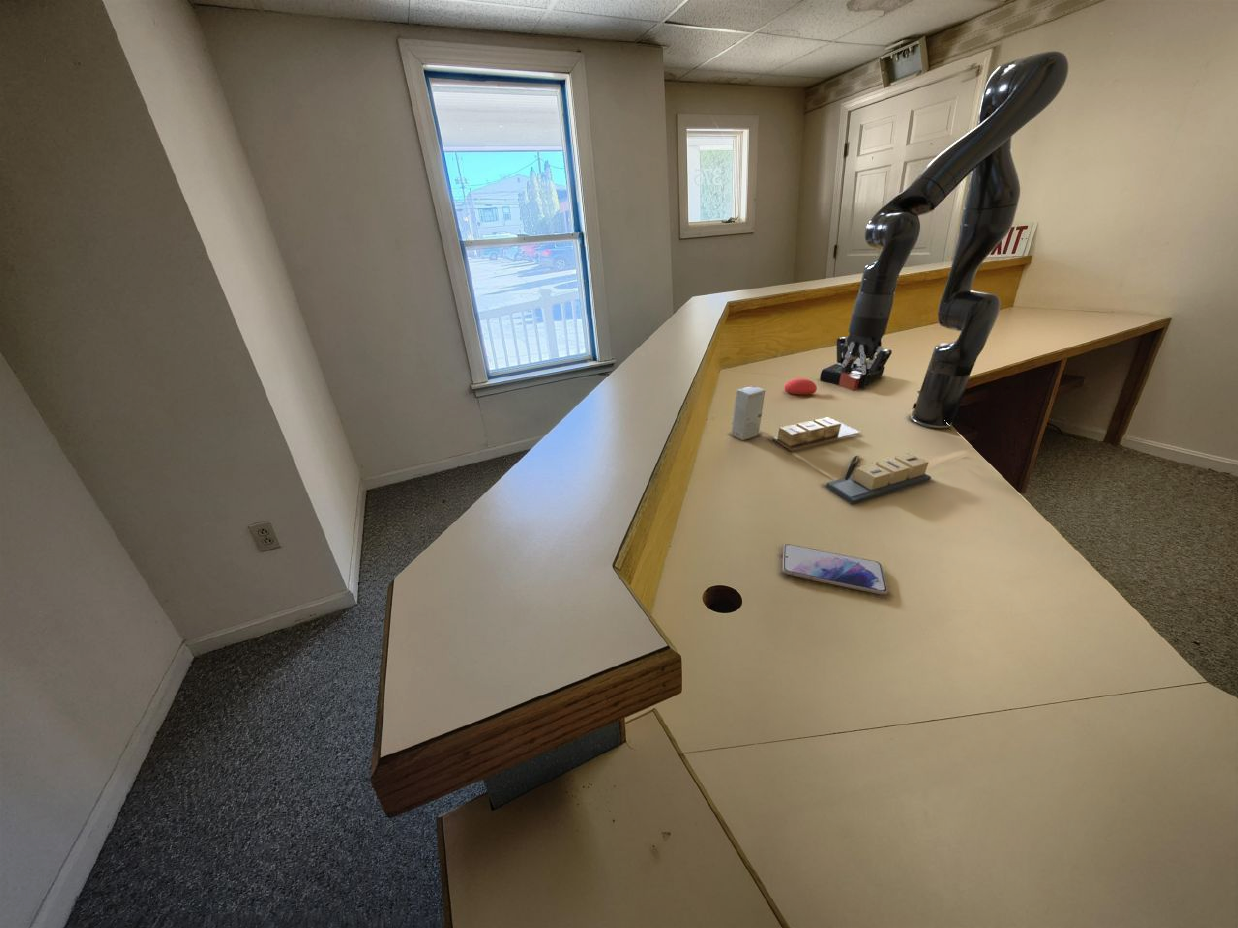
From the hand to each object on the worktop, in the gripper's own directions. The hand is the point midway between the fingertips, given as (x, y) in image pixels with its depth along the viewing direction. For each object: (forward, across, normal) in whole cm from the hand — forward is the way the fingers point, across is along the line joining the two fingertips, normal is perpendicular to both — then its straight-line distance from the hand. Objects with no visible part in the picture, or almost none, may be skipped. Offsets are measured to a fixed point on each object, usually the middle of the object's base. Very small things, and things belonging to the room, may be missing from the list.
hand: (853, 385), depth 110 cm
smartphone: (+13, -38, +41) cm, 57 cm away
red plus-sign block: (0, 0, 0) cm, 0 cm away
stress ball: (+13, +27, -10) cm, 31 cm away
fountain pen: (+12, -16, +13) cm, 24 cm away
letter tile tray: (+13, 0, +8) cm, 15 cm away
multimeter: (+13, +31, -36) cm, 49 cm away
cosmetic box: (+13, +9, +23) cm, 28 cm away
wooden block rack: (+13, -22, +12) cm, 28 cm away
